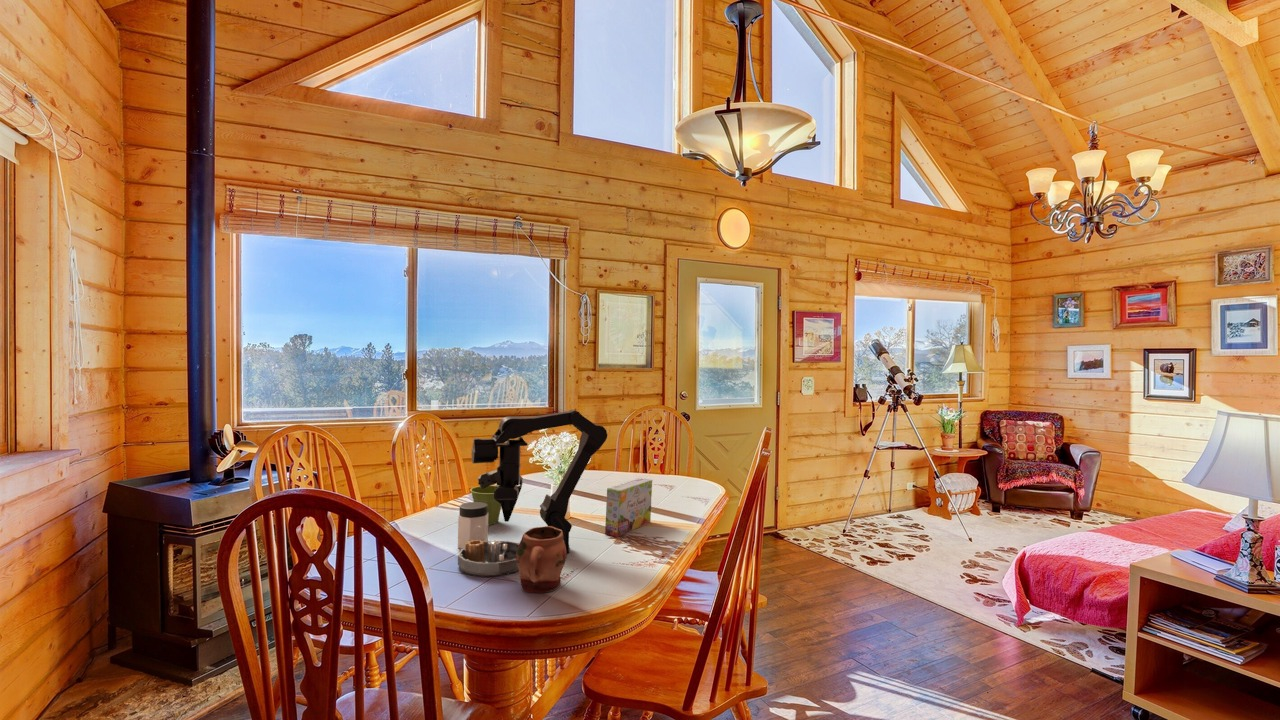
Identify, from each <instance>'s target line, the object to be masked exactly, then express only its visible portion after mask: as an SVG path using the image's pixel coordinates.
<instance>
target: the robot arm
mask: <svg viewBox="0 0 1280 720" xmlns="http://www.w3.org/2000/svg"><path fill="white" fill-rule="evenodd" d="M570 425H572V426H573V427H574V428H575V429H576V430H578V431H579V432H581V434H580V437H579V443H578V448H577V450H576V452H575V455H574V457H573V458H572V459H571V460H572V461H571V462H570V464H569V466H568V467H567V470H566V472H565V473H564V475H563V477H562V479H561V481H560V482H559V484H558V486H557V488H556V490H555V492H553V493H552V494H551V495H550V494H546V495H545V496H544V499H543V501H542V503H541V504H540V505H539V507H540V510H539V516H540V518H541V519H542V521H543V522H544V523H545V524H546V526H552V527H555V528H557V529H560V530H562V532H563V540H564V543H565V546H566V550H567V554H569V553H570V532H571V530H572V527H573V525H572V523H570V521H568V519H566V515H567V512H568V506H569V500H570V498H571V496H572V495H573V492H574V490H575V488H576V486H577V485H578V483H579V481H580V479H581V477H582V475H583V473H584V471H585V469H586V467H587V465H588V464H589V462H590V460H591V458H592V457H593V455H594V454H596V452H598V451H599V450H600V448H601V447H602V446H603V445H604V444H605V442H606V441H607V438H608V432H607V429H606V428H605V427H604V425H600V424H597V423H595V422H592V421H590V420H589V419H588V418H587V417H585V416H583V415H582V413H580V411H578V410H575V409H569V410H567V411H566V410H565V411H560V412H555V413H549V414H543V415H536V416H511V415H509V416H505V417H503V418H502V419H500V421H499V424H498V428H497V430H496V431H495V432H494V434H493V435H492V436H491V438H479V437H478V438H477V437H476V438H473V440H472V441H473V443H472V448H471V463H472V464H487V463H489V464H490V463H491V464H492V463H495V461H496V460H497V459H498V458H499V459H498V460H499V461H498V462H499V463H498V466H497V468H496V469H495V470H492V471H489V472H485V473H481V474H480V475H479V476H478V477H477V480H478V482H477V484H478V485H479V486H480V487H481V489H484V488H486V487H487V486H490V485H492V486H494V485H496V486H498V487H497V488H496V489H495V491H494V499H495V500H496V501H498V502H499V503H500V504H501V512H502V515H503V520H504V522H507V523H508V522H510V519H511V516H512V514H513V512H514V510H515V507H516V504H517V502H518V499H519V495H520V493H521V490H522V488H523V483H524V480H523V479H524V478H523V476H522V475H521V473H520V472H521V464H522V463H521V447H526V446H528V443H527V442H526V441H525V440H524V438H523V437H524V436H526V435H528V434H530V433H533V432H535V431H541V430H546V429H552V428H558V427H563V426H564V427H565V426H570Z"/></svg>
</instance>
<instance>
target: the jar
mask: <svg viewBox="0 0 1280 720" xmlns="http://www.w3.org/2000/svg"><path fill="white" fill-rule="evenodd" d="M457 521H458V524H457V527H458V528H457V549H460V550H461V549H463V548H465V543H466V542H467V541H471V540H481V541H485V542H487V541H489V525H488V504H486V503H482V502H474V501H473V502H472V501H471V502H465V503H462V504H460V505H459V515H458V519H457Z"/></svg>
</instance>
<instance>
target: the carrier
mask: <svg viewBox="0 0 1280 720" xmlns="http://www.w3.org/2000/svg"><path fill="white" fill-rule="evenodd" d="M519 544H520V542H516V541H509V540H488V541H487V542H485V557H484V562H474V561H469V560H468V559H465V548H463V549H461V548H460V551H459V553H458V554H457V565H458V569H459V571H460V572H462V573H463V574H465V575H468V576H473V577H479V578H480V577H481V578H497V577H504V576H509V575H513V574H516V573H519V569H518V566H517V562H516V552H517V548H518V546H519Z"/></svg>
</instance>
